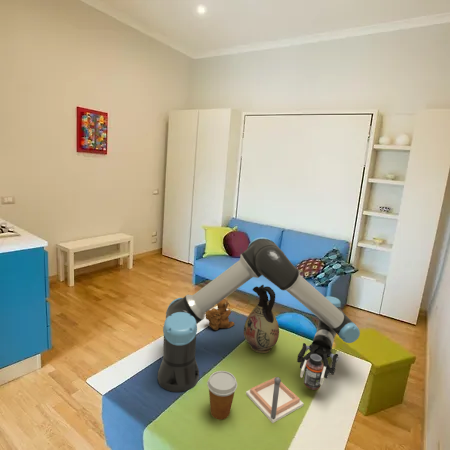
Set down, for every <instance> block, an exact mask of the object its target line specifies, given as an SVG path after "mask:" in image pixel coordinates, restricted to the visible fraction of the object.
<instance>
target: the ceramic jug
mask: <svg viewBox="0 0 450 450" xmlns="http://www.w3.org/2000/svg"><path fill="white" fill-rule="evenodd" d="M252 292H254V293H255V294H256V295H257V296H258V297H259V301H258V303H257V304H256V305H255V307H254V308H253V309H252V310H251V312H249V314H248V316H247V317H246V320H245V323H244V325H243V337H244V340H245V341H246V342H247V343H248V345H249V346H250V348H251V350H252V351H253V352H255V353H260V354H268V353H269V352H270V351H271V350H272V348H273V347H274V346H275V345H276V344H277V343H278V342H279V341H278V340H279V337H280V328H279V322H278V320H277V318H276V316H275V314H274V312H273V308H274V305H275V302H276V293H275V290H274V289H272V287H270V286H264V284H261V285H260V286H257V285H256V286H254V287H253V288H252Z"/></svg>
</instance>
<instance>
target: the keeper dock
mask: <svg viewBox="0 0 450 450" xmlns="http://www.w3.org/2000/svg"><path fill="white" fill-rule="evenodd" d="M245 395H246V396H247V397H248V398H249V399H250V400H251V402H253V404H254V405H255V406H256V407H257V408H258V409H259V410H260V411H261V412H262V414H263V415H264V416H265V417H266V418H267V419H268V420H269V421H270V422H271V424H274V423H276V422H277V421H279V420H281V419H283V418H284V417H286V416H287V415H290V414H291V413H293V412H295V411H297V410H298V409H300V408H302V407H304V404H305V403H304V402H303V401H302V400H301V398H300V397H298V395H297V394H295V393H294V392H293V391H292V390H290V388H288V387H287V386H286V384H284V383H283V382H282V379H281V378H280V377H278V376H275V377H273V378H270V379H268V380H265V381H263V382H262V383H259V384H257V385H256V386H253V387H251V388H250V389H249V390H246V391H245Z"/></svg>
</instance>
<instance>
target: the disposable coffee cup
mask: <svg viewBox="0 0 450 450" xmlns="http://www.w3.org/2000/svg"><path fill="white" fill-rule="evenodd" d="M207 387H208V393H209V394H208V395H209V397H208V398H209V407H210V415H211V417H212V418H214V419H217V420H221V421H222V420H226V419H227V418H229V416H230V414H231V411H232V406H233V401H234V396H235V391H236V390H237V388H238V382H237V379H236V377H235V376H234V374H233V373H231V372H230V371H226V370H217V371H214V372H213V373H212V374H210V376H209V377H208V379H207Z"/></svg>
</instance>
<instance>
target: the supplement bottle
mask: <svg viewBox="0 0 450 450" xmlns="http://www.w3.org/2000/svg"><path fill="white" fill-rule="evenodd" d="M323 368H324V365H323V362H322V358H321V356H319V355H317V354H311V355H310V359H308V360H307V362H306V368H305V372H304V374H303V384H304V386H305V387H306V388H308V390H312V391H313V390H314V391H316V390H319V389H320V388H321V386H322V385H320V379H321V375H322V372H323Z"/></svg>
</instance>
